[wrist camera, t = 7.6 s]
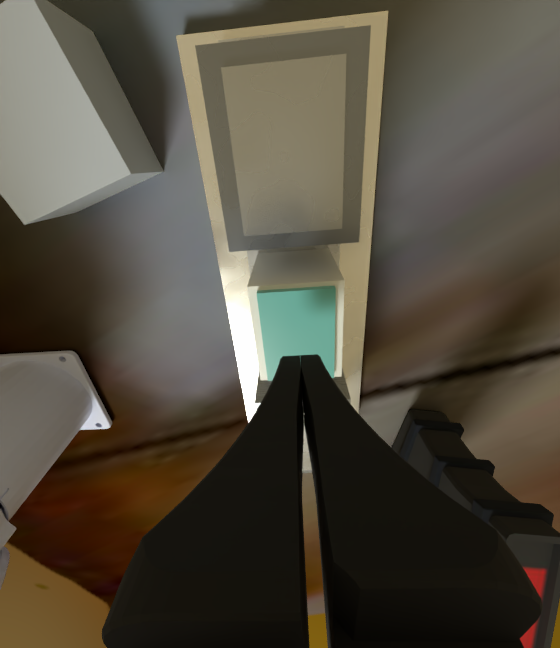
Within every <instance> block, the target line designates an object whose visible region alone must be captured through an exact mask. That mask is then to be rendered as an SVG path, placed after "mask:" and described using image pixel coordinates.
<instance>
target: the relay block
mask: <svg viewBox="0 0 560 648" xmlns="http://www.w3.org/2000/svg"><path fill="white" fill-rule="evenodd" d="M162 172H164V171H163V169H162V167H161V165H160V163H159V161H158V159H157V157H156V155H155V153H154V151H153V149H152V147H151V145H150V143H149V141H148V139H147V137H146V135H145V133H144V131H143V129H142V127H141V125H140V123H139V122H138V120H137V118H136V116H135V114H134V112H133V110H132V108H131V106H130V104H129V102H128V100H127V98H126V96H125V94H124V92H123V90H122V88H121V86H120V84H119V82H118V80H117V78H116V76H115V74H114V72H113V70H112V68H111V66H110V64H109V62H108V60H107V58H106V57H105V55H104V53H103V51H102V49H101V47H100V45H99V43H98V41H97V39H96V37H95V35H94V33H93V31H91V30H90V29H88V28H87V27H86V26H84V25H83V24H81V23H80V22H78V21H77V20H75V19H74V18H72V17H71V16H69V15H68V14H66V13H65V12H63V11H62V10H61V9H59V8H58V7H56V6H55V5H53V4H52V3H50V2H49V1H47V0H6V1H4V2H3V3H1V4H0V194H1V195H2V197H3V198H4V199H5V201H6V202H7V203H8V204H9V206H10V207H11V208H12V210H13V211H14V212H15V213H16V215H17V216H18V217H19V219H20V220H21V221H22V222H23V224H24V225H26V224H31V223H35V222H39V221H43V220H47V219H52V218H56V217H60V216H64V215H68V214H73V213H76V212H79V211H81V210H83V209H85V208H87V207H89V206H91V205H94V204H96V203H98V202H100V201H102V200H104V199H106V198H109V197H111V196H113V195H115V194H117V193H119V192H121V191H124V190H126V189H128V188H130V187H132V186H134V185H136V184H138V183H141V182H143V181H145V180H147V179H149V178H151V177H153V176H156V175H158V174H160V173H162Z"/></svg>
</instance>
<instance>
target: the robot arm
mask: <svg viewBox="0 0 560 648" xmlns="http://www.w3.org/2000/svg"><path fill="white" fill-rule="evenodd" d="M300 360H301V362H300ZM303 412H304V415H303ZM111 425H112V421H111V419H110V417H109V415H108V413H107V411H106V409H105V407H104V405H103V403H102V401H101V399H100V397H99V395H98V393H97V391H96V390H95V388H94V386H93V384H92V382H91V380H90V378H89V376H88V374H87V372H86V370H85V368H84V366H83V364H82V362H81V360H80V358H79V356H78V355H77V353H75V352H73V351H52V352H35V353H17V354H0V589H1V586H2V584H3V581H4V578H5V574H6V570H7V567H8V563H9V551H8V549H7V548H6V547H4V545H5V544H6V542H7V541H8V540H9V538H10V537H11V536H12V534H13V533H14V531H15V530H16V527H15V526H13V525H12V524H10V523H9V522H8V521H9V520H10V519H11V518H12V516H13V515H14V514H15V512H16V511H17V510H18V509H19V507H20V506H21V505H22V503H23V502H24V501H25V500H26V498H27V497H28V496H29V494H30V493H31V492H32V490H33V489H34V488H35V487H36V485H37V484H38V483H39V481H40V480H41V479H42V478H43V476H44V475H45V474H46V472H47V471H48V470H49V469H50V467H51V466H52V465H53V463H54V462H55V461H56V460H57V458H58V457H59V456H60V454H61V453H62V452H63V451H64V449H65V448H66V447H67V445H68V444H69V443H70V442H71V440H72V439H73V438H74V436H75V435H76V434H77V433H78V431H79V430H87V429H107V428H110V427H111ZM304 426H305V432H306V438H307V444H308V450H309V456H310V462H311V468H312V474H313V480H314V486H315V494H316V503H317V515H318V527H319V539H320V552H321V564H322V577H323V590H324V602H325V615H326V628H327V640H328V648H524V646H523V644H522V642H521V640H520V638H521V637H522V636H523V635H524V634H525V633H526V632H527V631H528V630H529V629H530V628H531V627H532V625H533V624H534V623H535V622H536V621H537V620H538V618H539V616H540V615H541V612H542V608H543V606H542V600H541V597H540V596H539V594H538V592H537V590H536V589H535V587H534V585H533V584H532V582H531V580H530V579H529V577H528V575H527V573H526V572H525V570H524V569H523V567H522V566H521V564H520V563H519V561H518V560H517V558H516V557H515V555H514V554H513V552H512V551H511V549H510V548H509V547H508V545H507V544H506V542H505V541H504V540H503V538H502V537H501V535H500V534H499V533H498V531H497V530H496V529H494V528H493V527H491V526H490V525H489V524H487V523H486V522H484V521H483V520H481V519H480V518H479V517H477V516H476V515H474V514H473V513H472V512H470V511H469V510H467V509H466V508H464V507H463V506H462V505H460V504H459V503H457V502H456V501H455V500H453V499H452V498H450V497H449V496H448V495H446V494H445V493H444V492H443V491H441V490H440V489H439V488H438V487H436V486H435V485H434V484H433V483H431V482H430V481H429V480H427V479H426V478H425V477H424V476H423V475H421V474H420V473H419V472H418V471H417V470H416V469H415V468H413V467H412V466H411V465H410V464H409V463H408V462H406V461H405V460H404V459H403V458H402V457H401V456H400V455H398V454H397V453H396V452H395V451H394V450H393V449H392V448H391V447H390V446H389V445H388V444H387V443H386V442H385V441H384V440H383V439H382V438H381V437H379V435H378V434H377V433H376V432H375V431H374V430H373V429H372V428H371V427H370V426H369V425H368V424H367V423H366V422H365V421H364V419H363V418H362V417H361V416H360V415H359V414H358V412H357V411H356V410H355V409H354V408H353V406H352V405H351V404H350V403H349V401H348V400H347V399H346V397H345V396H344V395H343V393H342V392H341V391H340V389H339V388H338V386H337V385H336V383H335V382H334V380H333V379H332V377H331V376H330V374H329V372H328V371H327V369H326V367H325V365H324V364H323V362H322V359H321V357H320V356H319V355H318V354H315V355H296V356H283V357H282V358H281V359H280V361H279V365H278V368H277V371H276V373H275V375H274V378H273V380H272V382H271V384H270V386H269V388H268V390H267V392H266V394H265V396H264V398H263V400H262V402H261V403H260V405H259V407H258V408H257V410H256V412H255V413H254V415H253V417H252V418H251V420H250V421H249V423H248V424H247V426H246V427H245V429H244V430H243V432H242V433H241V434H240V436H239V437H238V439H237V440H236V441H235V442H234V444H233V445H232V446H231V447H230V449H229V450H228V451H227V453H226V454H225V455H224V456H223V458H222V459H221V460H220V461H219V462H218V463H217V465H216V466H215V467H214V468H213V469H212V470H211V471H210V472H209V473H208V474H207V476H206V477H205V478H204V479H203V480H202V481H201V482H200V483H199V484H198V485H197V486H196V487H195V488H194V489H193V490H192V491H191V493H190V494H189V495H188V496H187V497H186V498H185V499H184V500H183V501H182V502H181V503H179V504H178V505H177V506H176V507H175V508H174V509H173V510H172V511H171V512H170V513H169V514H168V515H166V516H165V517H164V518H163V519H162V520H161V521H160V522H159V523H158V524H157V525H156V526H155V527H154V528H152V529H151V530H150V531H149V532H148V533H147V534H146V535H145V536H144V537H143V538H142V540H141V542H140V544H139V546H138V548H137V550H136V552H135V554H134V556H133V558H132V560H131V561H130V564H129V566H128V568H127V570H126V572H125V574H124V576H123V578H122V581H121V583H120V586H119V589H118V591H117V594H116V596H115V599H114V601H113V604H112V606H111V609H110V611H109V614H108V616H107V619H106V622H105V624H104V626H103V629H102V639H103V642H104V644H105V645H106V647H107V648H309V632H308V612H307V592H306V572H305V552H304V531H303V511H302V469H303V440H304Z"/></svg>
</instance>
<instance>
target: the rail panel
mask: <svg viewBox="0 0 560 648" xmlns="http://www.w3.org/2000/svg"><path fill="white" fill-rule="evenodd" d="M387 22H388V11H381V12H372V13H364V14H355V15H347V16H338V17H330V18H321V19H313V20H305V21H296V22H288V23H279V24H271V25H262V26H254V27H245V28H237V29H228V30H220V31H212V32H203V33H195V34H186V35H178V36H176V38H177V44H178V49H179V54H180V60H181V65H182V70H183V76H184V81H185V86H186V92H187V97H188V102H189V108H190V113H191V118H192V124H193V129H194V134H195V140H196V145H197V150H198V156H199V161H200V166H201V172H202V177H203V182H204V188H205V193H206V198H207V204H208V209H209V214H210V220H211V225H212V230H213V236H214V241H215V246H216V252H217V257H218V262H219V268H220V273H221V278H222V284H223V289H224V294H225V300H226V305H227V310H228V316H229V321H230V326H231V332H232V337H233V342H234V348H235V353H236V358H237V364H238V369H239V374H240V380H241V385H242V390H243V396H244V401H245V406H246V412H247V417H248V422H249V421H250V420H251V418H252V417H253V415H254V413H255V412H256V410H257V408H258V407H259V405H260V403H261V402H262V400H263V398H264V396H265V394H266V392H267V390H268V388H269V386H270V384H271V382H272V381H268V380H260V373H259V367H258V360H257V353H256V346H255V339H254V332H253V325H252V318H251V311H250V304H249V297H248V290H247V285H248V282H249V279H250V276H251V273H252V270H253V266H254V263H255V260H256V257H257V254H258V253H272V252H286V251H299V250H313V249H327V248H329V250H330V252H331V254H332V256H333V258H334V260H335V262H336V264H337V266H338V268H339V270H340V272H341V274H342V276H343V278H344V280H345V284H344V315H343V347H342V377H334V378H332V379H333V380H334V382H335V383H336V385H337V386H338V388H339V389H340V391H341V392H342V393H343V395H344V396H345V397H346V399H347V400H348V401H349V403H350V404H351V405H352V406H353V408H354V409H355V410H356V411H357V412H358V414H359V400H360V387H361V373H362V360H363V346H364V333H365V319H366V306H367V292H368V279H369V265H370V252H371V238H372V225H373V211H374V198H375V184H376V171H377V157H378V144H379V130H380V117H381V103H382V90H383V76H384V63H385V49H386V36H387ZM303 415H304V412H303ZM302 473H312V468H311V462H310V456H309V450H308V444H307V438H306V432H305V426H304V440H303V469H302Z"/></svg>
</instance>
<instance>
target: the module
mask: <svg viewBox="0 0 560 648" xmlns="http://www.w3.org/2000/svg"><path fill="white" fill-rule="evenodd" d="M344 284H345V280H344V278H343V276H342V274H341V272H340V270H339V268H338V266H337V264H336V262H335V260H334V258H333V256H332V254H331V252H330V250H329V248H327V249H313V250H299V251H286V252H272V253H258V254H257V257H256V260H255V263H254V266H253V270H252V273H251V276H250V279H249V282H248V285H247V290H248V297H249V304H250V311H251V318H252V325H253V332H254V339H255V346H256V353H257V360H258V367H259V373H260V380H268V381H272V380H273V378H274V375H275V373H276V371H277V368H278V365H279V361H280V359H281V358H282V357H283V356H296V355H315V354H318V355H319V356H320V357H321V359H322V362H323V364H324V365H325V367H326V369H327V371H328V372H329V374H330V376H331V377H332V378H334V377H342V347H343V315H344ZM300 362H301V360H300Z"/></svg>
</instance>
